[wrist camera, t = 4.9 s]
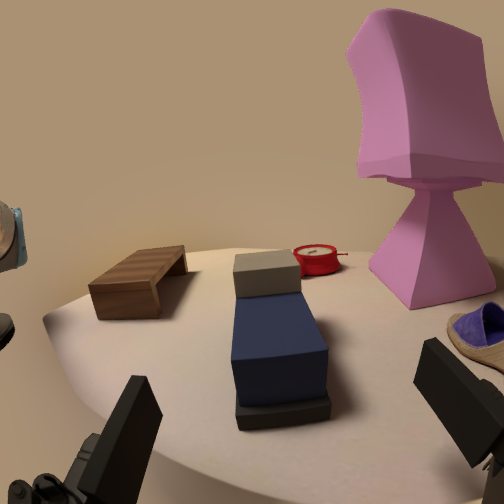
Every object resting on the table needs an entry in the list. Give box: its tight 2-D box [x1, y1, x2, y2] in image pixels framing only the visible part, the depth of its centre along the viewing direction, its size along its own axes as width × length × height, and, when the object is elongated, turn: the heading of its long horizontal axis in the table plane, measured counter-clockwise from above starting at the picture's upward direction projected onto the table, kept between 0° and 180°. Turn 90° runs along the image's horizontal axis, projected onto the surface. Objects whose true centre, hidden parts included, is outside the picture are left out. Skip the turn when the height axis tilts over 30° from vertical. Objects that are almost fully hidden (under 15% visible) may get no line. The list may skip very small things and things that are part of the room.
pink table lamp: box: [346, 8, 504, 310], centre depth 37 cm, size 22×22×45 cm
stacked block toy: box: [231, 249, 332, 430], centre depth 27 cm, size 20×8×10 cm, turn 1°
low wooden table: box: [88, 245, 188, 319], centre depth 51 cm, size 24×12×6 cm, turn 1°
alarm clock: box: [293, 244, 348, 277], centre depth 56 cm, size 10×6×15 cm
